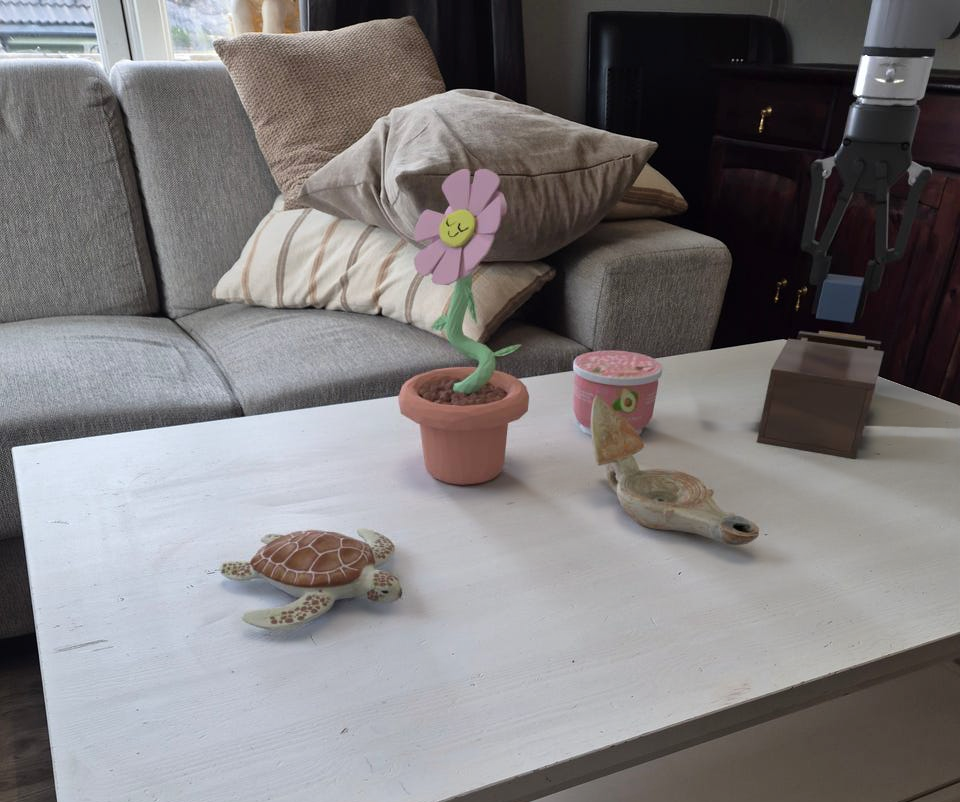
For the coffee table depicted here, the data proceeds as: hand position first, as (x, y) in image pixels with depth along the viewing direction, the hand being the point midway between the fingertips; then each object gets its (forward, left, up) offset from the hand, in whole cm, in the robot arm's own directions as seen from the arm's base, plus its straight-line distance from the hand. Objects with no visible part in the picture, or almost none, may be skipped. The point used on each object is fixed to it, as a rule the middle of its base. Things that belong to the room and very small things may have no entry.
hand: (836, 314), depth 116 cm
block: (0, 0, 0) cm, 0 cm away
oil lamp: (+26, +37, -12) cm, 46 cm away
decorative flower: (+47, +26, -12) cm, 54 cm away
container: (+29, +12, -12) cm, 33 cm away
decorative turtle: (+58, +52, -12) cm, 78 cm away
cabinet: (+4, +11, -11) cm, 16 cm away
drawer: (-1, +1, -11) cm, 11 cm away
